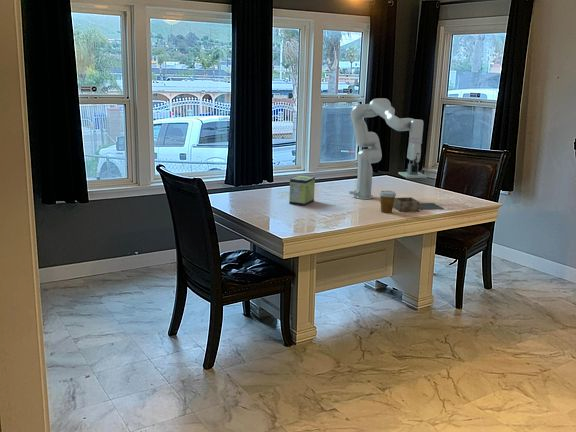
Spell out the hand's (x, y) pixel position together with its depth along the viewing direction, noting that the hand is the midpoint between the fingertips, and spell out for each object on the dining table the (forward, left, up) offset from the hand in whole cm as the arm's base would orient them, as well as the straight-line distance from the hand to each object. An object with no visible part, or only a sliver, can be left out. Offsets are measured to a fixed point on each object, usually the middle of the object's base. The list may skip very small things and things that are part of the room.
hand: (412, 171), depth 350 cm
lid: (0, 0, -3) cm, 3 cm away
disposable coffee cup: (-17, -6, -23) cm, 30 cm away
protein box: (-62, +22, -24) cm, 70 cm away
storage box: (-3, -1, -23) cm, 24 cm away
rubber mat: (+14, +5, -23) cm, 27 cm away
